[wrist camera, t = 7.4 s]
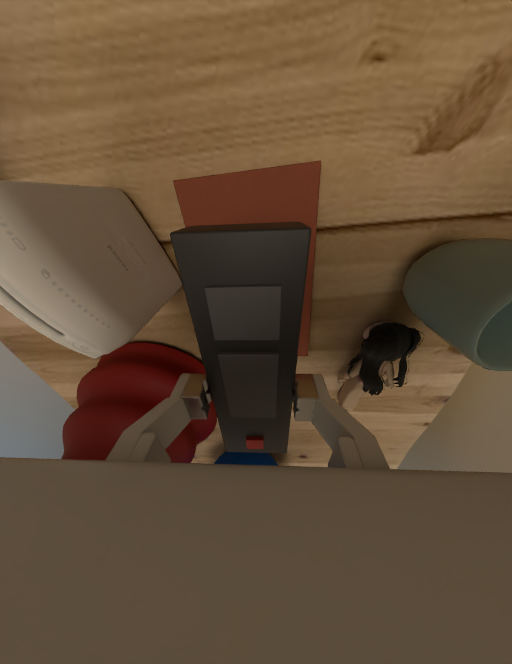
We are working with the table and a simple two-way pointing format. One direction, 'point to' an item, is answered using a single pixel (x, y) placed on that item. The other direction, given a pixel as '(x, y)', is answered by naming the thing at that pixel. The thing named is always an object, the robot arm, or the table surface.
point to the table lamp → (131, 401)
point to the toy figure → (377, 361)
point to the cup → (467, 298)
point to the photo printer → (80, 264)
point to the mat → (258, 208)
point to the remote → (247, 322)
